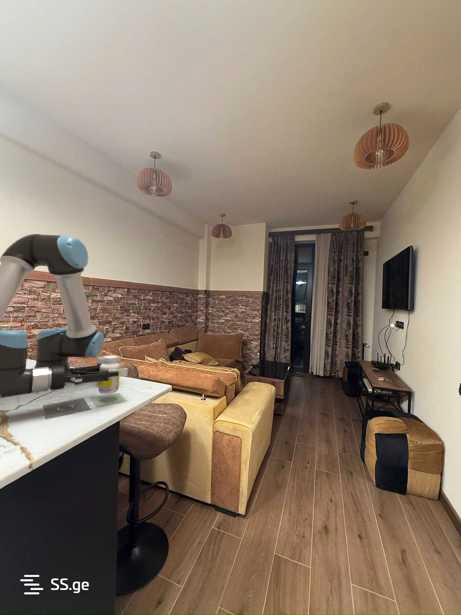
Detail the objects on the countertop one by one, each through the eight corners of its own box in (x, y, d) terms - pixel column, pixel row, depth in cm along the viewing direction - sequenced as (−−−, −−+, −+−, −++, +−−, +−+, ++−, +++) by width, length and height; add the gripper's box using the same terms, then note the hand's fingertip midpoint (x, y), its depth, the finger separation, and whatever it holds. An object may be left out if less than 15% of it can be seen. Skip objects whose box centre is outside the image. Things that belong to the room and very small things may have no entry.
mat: (90, 398, 89) (90, 397, 89) (118, 392, 96) (118, 392, 96) (96, 407, 82) (96, 406, 82) (126, 400, 89) (126, 400, 89)
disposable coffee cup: (108, 389, 99) (110, 360, 100) (89, 386, 101) (90, 358, 101) (123, 382, 109) (124, 356, 109) (105, 380, 111) (106, 354, 111)
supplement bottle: (113, 387, 93) (115, 354, 94) (121, 391, 89) (123, 357, 89) (95, 391, 88) (97, 356, 88) (103, 395, 84) (105, 359, 84)
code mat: (42, 405, 81) (42, 405, 81) (83, 398, 89) (83, 398, 89) (45, 419, 72) (45, 418, 72) (90, 409, 80) (90, 409, 80)
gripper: (46, 382, 84) (115, 373, 99) (51, 399, 69) (132, 386, 85) (47, 361, 84) (116, 355, 100) (53, 374, 70) (133, 365, 85)
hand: (123, 369), depth 92 cm, fingers closed on supplement bottle, 7 cm apart
